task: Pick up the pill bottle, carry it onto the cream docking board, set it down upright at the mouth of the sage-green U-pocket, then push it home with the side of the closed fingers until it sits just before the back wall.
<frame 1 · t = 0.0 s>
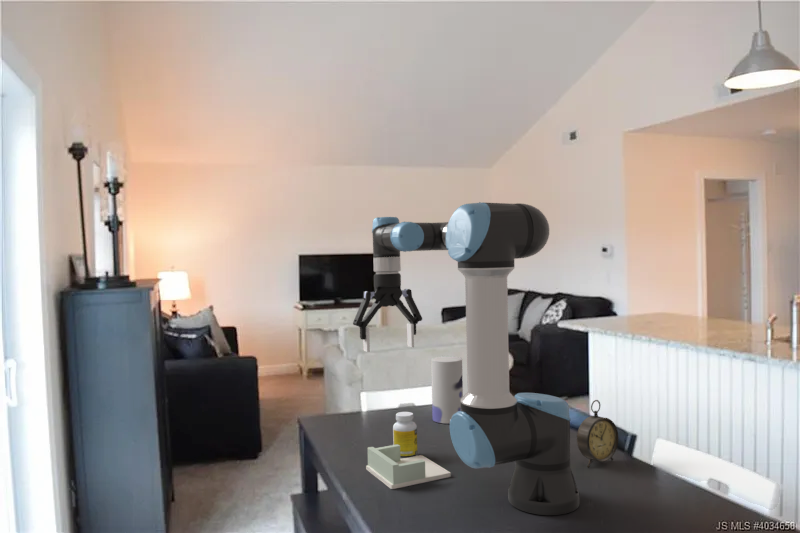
hand: (389, 349, 172), 28 cm above the table, fingers open, 13 cm apart
alarm clock: (596, 464, 157), on the table
container: (447, 420, 200), on the table
dock: (407, 472, 154), on the table
pill bottle: (405, 457, 166), on the table
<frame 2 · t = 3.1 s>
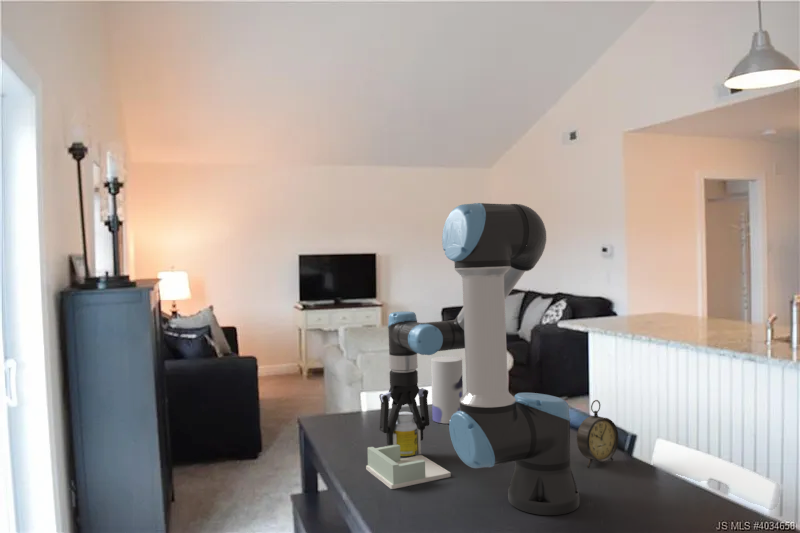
hand: (405, 454, 166), 0 cm above the table, fingers closed on pill bottle, 6 cm apart
pill bottle: (405, 457, 166), on the table, touching gripper
everything else where it was.
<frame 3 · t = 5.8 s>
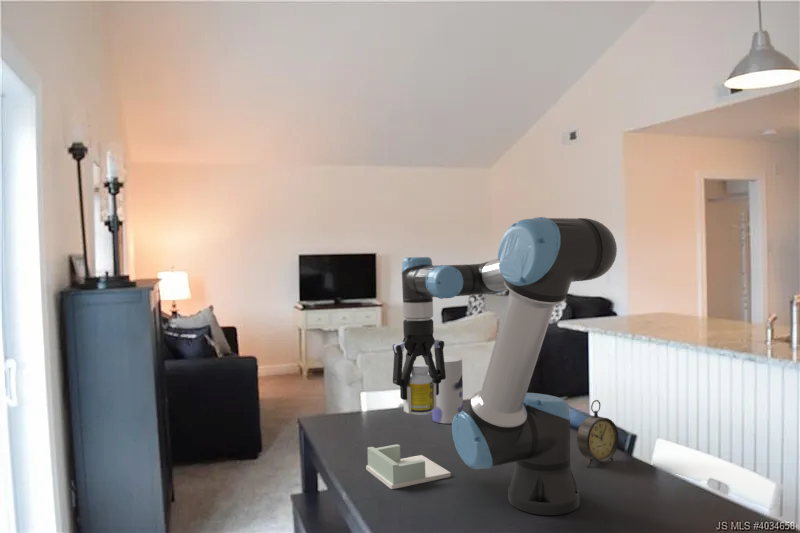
hand: (420, 410, 155), 15 cm above the table, fingers closed on pill bottle, 6 cm apart
pill bottle: (419, 412, 155), point 15 cm above the table, touching gripper
everything else where it was.
when the fingers open (2 cm above the table, at t = 8.4 s): pill bottle stays where it is, resting on dock.
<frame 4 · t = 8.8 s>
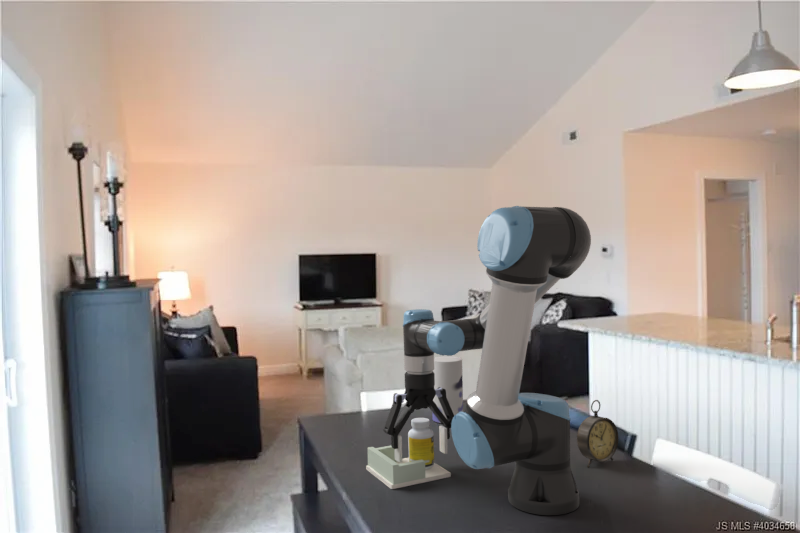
hand: (421, 456, 155), 3 cm above the table, fingers open, 12 cm apart
pill bottle: (421, 466, 156), point 1 cm above the table, touching dock
everything else where it was.
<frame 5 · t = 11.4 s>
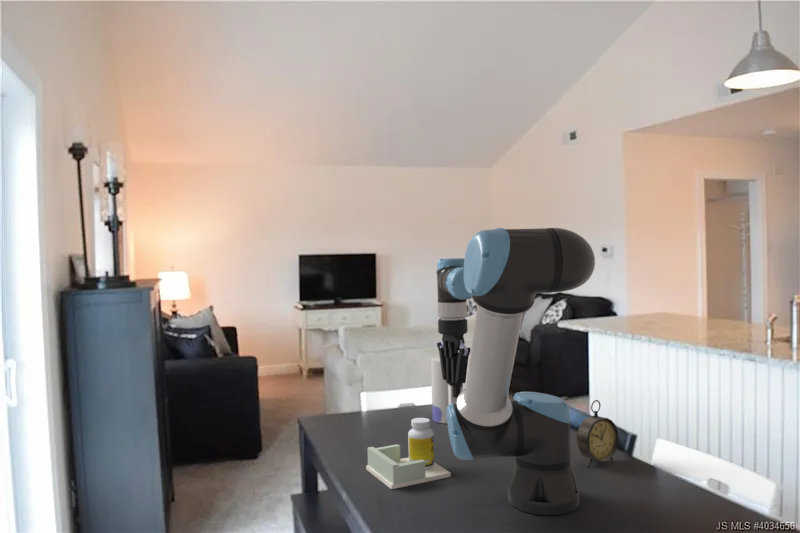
hand: (454, 409, 160), 14 cm above the table, fingers closed
nothing on the table moved.
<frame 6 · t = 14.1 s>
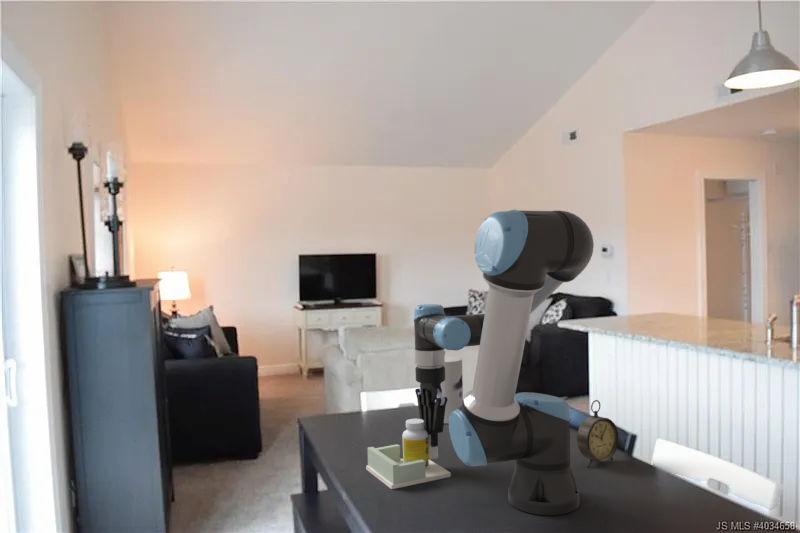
hand: (432, 457, 157), 3 cm above the table, fingers closed
pill bottle: (415, 467, 155), point 1 cm above the table, touching dock
everything else where it was.
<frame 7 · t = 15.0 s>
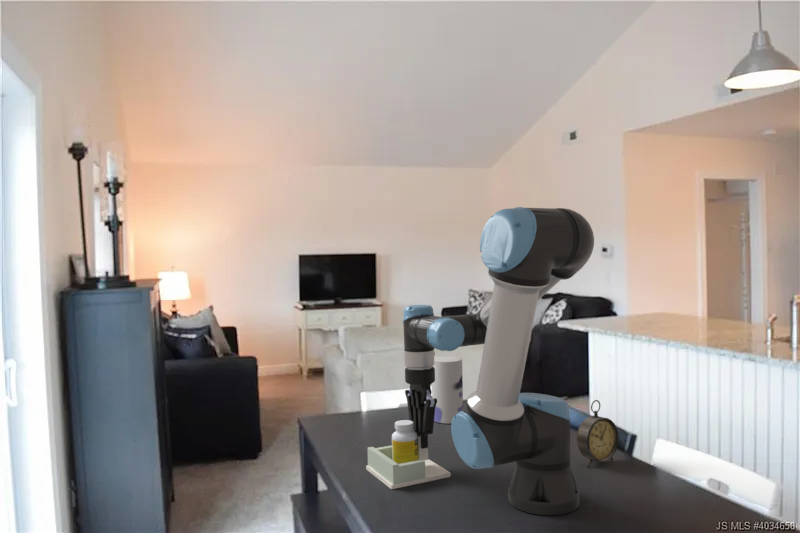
hand: (422, 459, 156), 3 cm above the table, fingers closed
pill bottle: (405, 469, 154), point 1 cm above the table, touching dock, gripper
everything else where it was.
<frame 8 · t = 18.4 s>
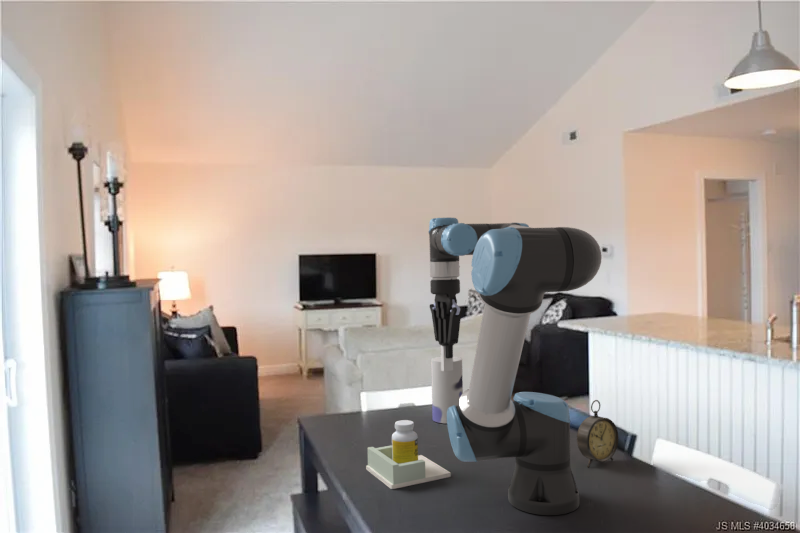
hand: (447, 370, 158), 24 cm above the table, fingers closed
pill bottle: (405, 469, 154), point 1 cm above the table, touching dock
everything else where it was.
at the end: pill bottle inside the target area (1.1 cm from its centre), point 0.8 cm above the table; pill bottle tilted 0°; the gripper is holding nothing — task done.
